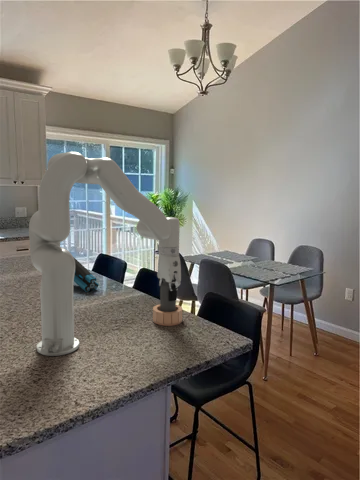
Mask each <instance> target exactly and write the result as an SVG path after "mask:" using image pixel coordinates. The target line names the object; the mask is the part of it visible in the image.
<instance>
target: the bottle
mask: <svg viewBox="0 0 360 480" xmlns="http://www.w3.org/2000/svg"><path fill="white" fill-rule="evenodd" d="M162 281H163V283H162V284H161V289H160V288H159V297H160V299H159V302H160V303H159V304H160V311H163V312H173V311H176V305H177V300H175V301H169V290H170V288H169V283H168V282H166V281H165V279H163V278H162ZM172 282H174V280H172ZM173 285H174V284H172V286H173Z"/></svg>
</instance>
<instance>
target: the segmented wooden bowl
mask: <svg viewBox="0 0 360 480" xmlns="http://www.w3.org/2000/svg"><path fill="white" fill-rule="evenodd" d="M152 322H153V323H154V324H156V325H158V326H163V327H174V326H178V325H180V324H181V323H182V322H183V306H181V305H179V304H176V311H173V312H163V311H160V303H159V304H156V305H155V306H152Z"/></svg>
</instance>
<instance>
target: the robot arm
mask: <svg viewBox="0 0 360 480" xmlns="http://www.w3.org/2000/svg"><path fill="white" fill-rule="evenodd" d="M76 183H77V184H85V185H86V184H88V185H98V186H100V188H101V189H102V190H103V191H105V193H106V194H107V196H108V197H109V198H110V199H111V200H112V201H113V202H114V204H115V205H116V206H117V208H119V209H121V210H122V211H124V212H126V213H128V214H129V215H132V216H133V217H135V218H137V219H138V222H137V223H136V231H137V234H138V235H139V236H141V237H143V238H145V239H149V240H152V241H153V240H154V241H158V258H157V259H158V261H157V273H156V277H157V278H158V279H157V280H158V286H159V290H160V289H161V284H162V283H163V281H162V278H163V279H165V281H166V282H168V283H169V288H170V290H169V301H175V300H176V301H177V299H178V289H179V287H180V286H181V281H182V266H181V258H180V228H181V227H180V220H179V218H177V217H173V216H172V217H171V216H165V214H164V213H163V211H162V210H161V209H160V208H159V207H158V206H157V205H156V204H155V203H154V202H152V200H150V199H149V198H148V197H147V196H145V195H144V194H143V193H141V191H139V190H138V189H137V188H136V187H135V185H134V184H133V183H132V182H131V180H130V179H129V178H128V176H127V175H126V173H124V171H123V170H122V168H121V167H120V166H119V165H118V164H117V162H116V161H115V160H114V159H112V158H110V157H95V158H93V157H91V158H88V157H85V156H84V154H81V153H80V152H77V151H67V152H62V153H61V152H60V153H56V154H54V155H52V156H51V157H50V158H49V159H48V162H47V169H46V170H45V172H44V174H43V176H42V178H41V181H40V183H39V188H38V189H39V190H38V210H37V211H35V212H34V213H33V214H32V216H31V217H30V219H29V224H28V235H29V236H28V237H29V239H28V240H29V252H30V253H29V256H30V261H31V264H32V266H33V267H34V268H35V269H36V270H37V271H38V272H40V273H41V280H40V281H41V282H40V287H39V289H40V290H39V293H40V294H39V295H40V315H41V316H40V318H41V319H40V320H41V321H40V322H41V341H39V342H38V343H37V344H36V351H37V353H39V354H40V355H43V356H48V357H54V356H55V357H58V356H64V355H67V354H71V353H73V352H75V351H76V350H78V349H79V347H80V340H79V339H78V338H76V337H75V310H74V309H75V307H74V306H75V305H74V283H75V282H74V274H75V260H74V258H75V257H74V256H73V254H72V253H71V252H70V251H69V250H67V249H66V248H64V247H63V246H61V243H62V242H64V241H66V240H67V238H68V237H69V236H70V233H71V217H70V215H71V214H70V195H71V194H70V193H71V191H72V188H73V186H74V185H75V184H76ZM73 257H74V258H73ZM172 280H174V282H172ZM172 284H174V285H173V286H172Z"/></svg>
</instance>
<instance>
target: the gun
mask: <svg viewBox="0 0 360 480" xmlns="http://www.w3.org/2000/svg"><path fill="white" fill-rule="evenodd" d="M73 258H74V260H75V274H74V283H75V284H76V285H77V286H78V287H80V288H81V289H82V290H83V291H84V292H85V293H87V292H90V291H91V290H92V291H97V289H98V288H99V283H98V282H97V278H96V277H95V275H93V274H92V273H91V272H90V271H89V269H87V268H86V267H85V266H84V265H83V264H82V263H81V262H80V261H78V259H76V258H75V257H74V256H73Z"/></svg>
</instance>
